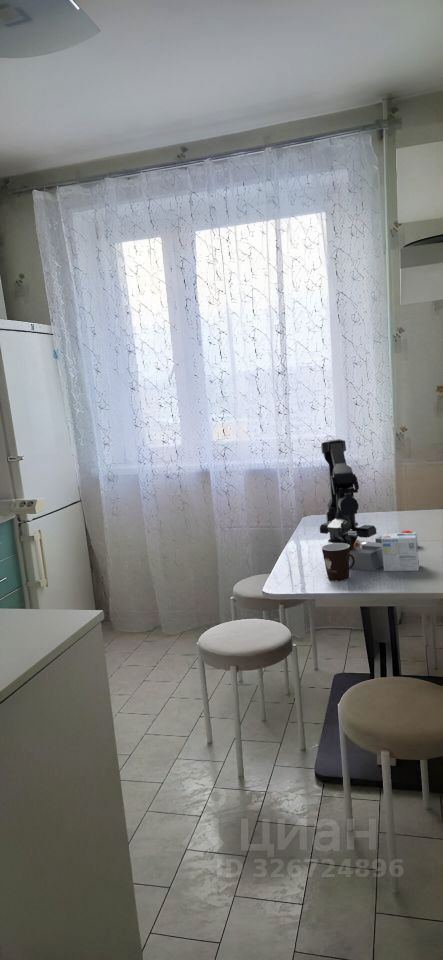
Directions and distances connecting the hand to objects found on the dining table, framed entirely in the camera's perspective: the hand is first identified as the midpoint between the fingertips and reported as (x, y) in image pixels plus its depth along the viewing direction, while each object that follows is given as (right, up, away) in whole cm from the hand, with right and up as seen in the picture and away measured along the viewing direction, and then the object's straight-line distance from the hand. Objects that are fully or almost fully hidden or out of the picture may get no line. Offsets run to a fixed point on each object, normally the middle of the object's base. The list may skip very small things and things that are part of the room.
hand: (349, 554), depth 213 cm
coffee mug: (-6, -6, -16) cm, 18 cm away
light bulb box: (+14, -3, -12) cm, 19 cm away
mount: (+9, -2, -2) cm, 9 cm away
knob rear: (+6, 0, +7) cm, 9 cm away
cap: (+23, +1, +12) cm, 26 cm away
